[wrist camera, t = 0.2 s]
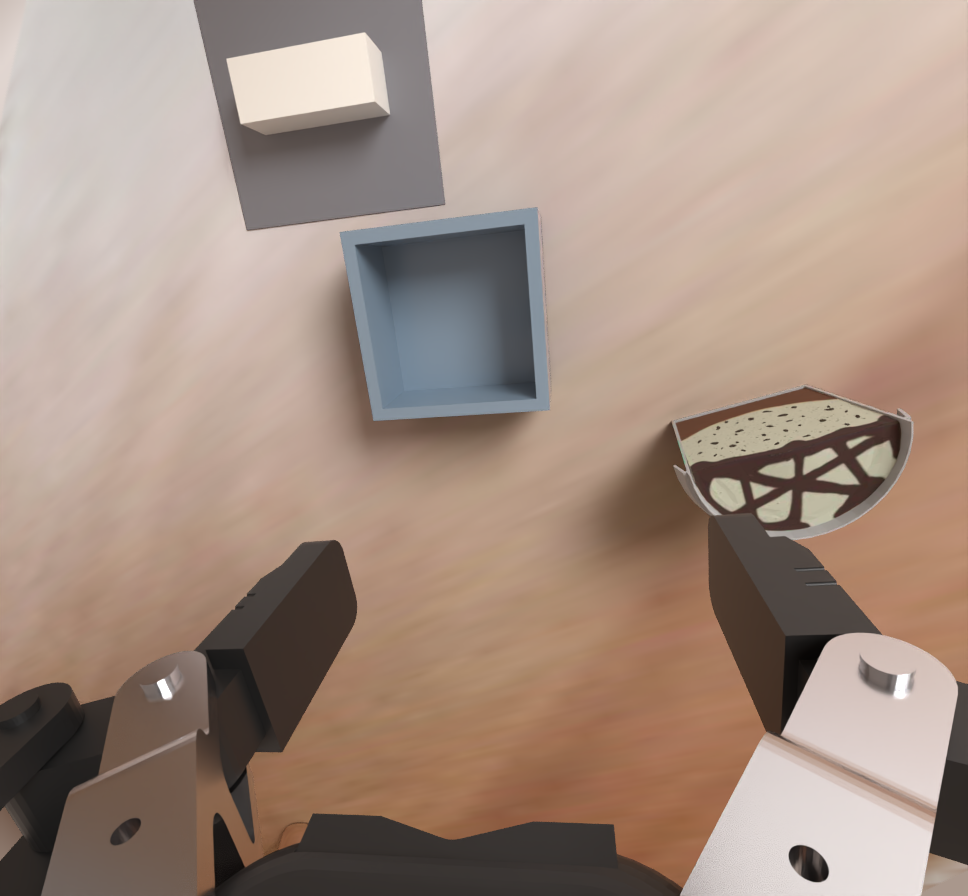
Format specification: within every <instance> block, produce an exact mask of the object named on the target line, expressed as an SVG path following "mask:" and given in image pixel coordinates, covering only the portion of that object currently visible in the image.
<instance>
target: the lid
mask: <svg viewBox="0 0 968 896" xmlns="http://www.w3.org/2000/svg"><path fill="white" fill-rule="evenodd" d="M194 3H195V8H196V12H197V16H198V21H199V25H200V29H201V34H202V38H203V42H204V47H205V51H206V55H207V60H208V64H209V68H210V73H211V77H212V81H213V85H214V90H215V94H216V98H217V103H218V107H219V111H220V116H221V120H222V124H223V129H224V133H225V137H226V142H227V146H228V150H229V155H230V159H231V163H232V167H233V172H234V176H235V180H236V185H237V189H238V193H239V198H240V202H241V206H242V211H243V215H244V219H245V224H246V228H247V230H252V229H260V228H268V227H275V226H283V225H290V224H298V223H306V222H313V221H321V220H329V219H336V218H344V217H352V216H359V215H367V214H374V213H382V212H390V211H397V210H405V209H413V208H420V207H428V206H436V205H443V204H445V198H444V189H443V181H442V172H441V163H440V155H439V146H438V137H437V129H436V120H435V111H434V102H433V94H432V85H431V76H430V68H429V59H428V50H427V42H426V33H425V24H424V15H423V7H422V0H194Z"/></svg>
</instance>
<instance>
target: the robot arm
mask: <svg viewBox="0 0 968 896" xmlns="http://www.w3.org/2000/svg"><path fill="white" fill-rule="evenodd" d="M708 549H709V590H710V597H711V602H712V606H713V610H714V613H715V615H716V618H717V620H718V622H719V624H720V627H721V629H722V631H723V634H724V636H725V638H726V640H727V643H728V645H729V647H730V650H731V652H732V654H733V657H734V659H735V661H736V663H737V666H738V668H739V670H740V673H741V675H742V677H743V679H744V682H745V684H746V686H747V689H748V691H749V693H750V695H751V698H752V700H753V702H754V705H755V707H756V709H757V711H758V714H759V716H760V718H761V721H762V723H763V725H764V727H765V730H766V732H767V733H766V734H765V735H764V736H763V738H762V739H761V741H760V743H759V744H758V746H757V748H756V750H755V752H754V754H753V756H752V758H751V760H750V762H749V763H748V765H747V767H746V769H745V771H744V773H743V775H742V777H741V779H740V781H739V783H738V785H737V786H736V788H735V790H734V792H733V794H732V796H731V798H730V800H729V802H728V804H727V806H726V808H725V809H724V811H723V813H722V815H721V817H720V819H719V821H718V823H717V825H716V827H715V829H714V831H713V832H712V834H711V836H710V838H709V840H708V842H707V844H706V846H705V848H704V850H703V852H702V854H701V855H700V857H699V859H698V861H697V863H696V865H695V867H694V869H693V871H692V873H691V875H690V877H689V878H688V880H687V882H686V884H685V886H684V888H682V887H680V886H679V885H678V884H676V883H675V882H673V881H672V880H670V879H668V878H667V877H665V876H664V875H662V874H660V873H659V872H657V871H656V870H653V869H651V868H649V867H647V866H645V865H643V864H641V863H639V862H637V861H635V860H632V859H629V858H626V857H624V856H621V855H618V854H617V853H616V843H615V833H614V825H611V824H584V823H557V822H530V823H526V824H521V825H517V826H513V827H509V828H504V829H500V830H496V831H492V832H487V833H483V834H479V835H475V836H471V837H466V838H462V839H457V840H448V839H444V838H441V837H438V836H435V835H432V834H430V833H427V832H424V831H421V830H418V829H416V828H413V827H410V826H407V825H404V824H402V823H399V822H396V821H393V820H390V819H388V818H385V817H382V816H365V815H338V814H312V817H311V819H310V821H309V823H308V826H307V828H306V830H305V832H304V835H303V837H302V839H301V841H300V843H296V844H293V845H290V846H288V847H285V848H282V849H280V850H277V851H275V852H273V853H271V854H269V855H267V856H265V857H264V854H263V846H262V838H261V831H260V823H259V816H258V808H257V800H256V793H255V785H254V777H253V773H252V770H251V768H250V766H249V761H250V760H251V758H252V756H253V755H254V753H255V752H283V750H284V748H285V746H286V745H287V743H288V741H289V739H290V737H291V736H292V734H293V732H294V730H295V729H296V727H297V725H298V723H299V721H300V720H301V718H302V716H303V714H304V713H305V711H306V709H307V707H308V705H309V704H310V702H311V700H312V698H313V697H314V695H315V693H316V691H317V689H318V688H319V686H320V684H321V682H322V681H323V679H324V677H325V675H326V673H327V672H328V670H329V668H330V666H331V665H332V663H333V661H334V659H335V657H336V656H337V654H338V652H339V650H340V649H341V647H342V645H343V643H344V641H345V640H346V638H347V636H348V634H349V633H350V631H351V629H352V627H353V625H354V623H355V619H356V614H357V601H356V595H355V592H354V588H353V585H352V581H351V577H350V574H349V570H348V566H347V563H346V559H345V556H344V552H343V549H342V547H341V545H340V543H339V542H338V541H336V540H330V541H316V542H304V543H302V544H301V545H300V546H299V547H298V548H297V549H296V550H295V551H294V552H293V553H292V555H291V556H290V557H289V558H288V559H287V560H286V561H285V562H284V563H283V564H282V565H281V566H279V567H278V568H276V569H275V570H273V571H272V572H270V573H269V574H267V575H266V576H264V577H263V578H261V579H260V581H259V582H258V583H257V584H256V585H255V586H254V587H253V588H252V589H251V590H250V591H249V592H248V593H247V597H244V598H243V599H242V600H241V601H240V602H239V603H238V604H237V605H236V606H235V610H231V612H230V613H229V614H228V615H227V616H226V617H225V618H224V619H223V620H222V621H221V622H220V623H219V624H218V625H217V627H216V628H215V629H214V630H213V631H212V632H211V633H210V634H209V635H208V636H207V637H206V638H205V639H204V640H203V642H202V643H201V644H200V645H199V646H198V647H197V648H196V649H195V650H194V651H183V652H178V653H174V654H171V655H168V656H165V657H163V658H160V659H158V660H156V661H154V662H152V663H150V664H148V665H147V666H145V667H144V668H142V669H140V670H139V671H138V672H136V673H135V674H134V675H133V676H131V677H130V678H129V679H128V680H127V681H126V682H125V683H124V684H123V685H122V686H121V688H120V689H119V690H118V692H117V694H116V695H115V696H113V697H109V698H105V699H101V700H97V701H94V702H90V703H86V704H82V705H80V703H79V701H78V700H77V698H76V696H75V694H74V692H73V690H72V688H71V687H70V685H68V684H66V683H51V684H46V685H42V686H39V687H36V688H33V689H31V690H28V691H26V692H24V693H22V694H20V695H17V696H16V697H14V698H12V699H10V700H8V701H7V702H5V703H3V704H2V705H0V810H1V809H2V808H3V807H4V806H5V808H6V809H7V811H8V813H9V814H10V815H11V817H12V819H13V820H14V822H15V823H16V825H17V826H18V828H19V830H20V831H21V833H22V834H23V836H22V837H21V838H20V839H19V840H18V842H17V843H16V844H15V845H14V846H13V847H12V848H11V850H10V851H9V852H8V853H7V854H6V855H5V856H4V857H3V859H2V860H1V861H0V896H921V893H922V887H923V882H924V876H925V871H926V866H927V860H928V855H929V853H932V854H935V855H938V856H941V857H945V858H948V859H951V860H954V861H957V862H960V863H963V864H967V865H968V684H965V683H961V682H958V681H956V680H955V678H954V677H953V675H952V674H951V672H950V671H949V670H948V669H947V668H946V667H945V666H944V665H943V664H942V663H941V662H940V661H939V660H937V659H936V658H935V657H933V656H932V655H930V654H929V653H927V652H925V651H924V650H922V649H920V648H918V647H916V646H914V645H912V644H909V643H907V642H904V641H901V640H899V639H896V638H892V637H888V636H884V635H882V634H881V633H880V632H879V630H878V629H877V628H876V627H875V626H874V625H873V623H872V622H871V621H870V620H869V619H868V618H867V616H866V615H865V614H864V613H863V612H862V611H861V609H860V608H859V607H858V606H857V605H856V604H855V602H854V601H853V600H852V599H851V598H850V597H849V595H848V594H847V593H846V592H845V591H844V590H843V588H842V587H841V586H840V585H837V583H836V580H835V579H834V578H833V577H832V576H831V574H830V573H829V572H828V571H827V570H824V566H823V565H822V564H821V563H820V562H819V561H818V559H817V558H816V557H815V556H814V555H813V554H812V552H811V551H810V550H809V549H807V548H805V547H804V546H802V545H800V544H798V543H796V542H795V541H793V540H791V539H789V538H788V537H786V536H777V537H770V536H769V535H768V533H767V532H766V531H765V529H764V528H763V527H762V526H761V524H760V523H759V522H758V520H757V519H756V518H755V516H754V515H753V514H752V513H742V514H727V515H713V516H710V518H709V524H708Z"/></svg>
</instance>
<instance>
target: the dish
mask: <svg viewBox="0 0 968 896" xmlns="http://www.w3.org/2000/svg"><path fill="white" fill-rule="evenodd" d="M340 237H341V242H342V248H343V254H344V259H345V265H346V270H347V276H348V282H349V287H350V293H351V298H352V304H353V309H354V315H355V321H356V326H357V332H358V337H359V343H360V348H361V354H362V360H363V365H364V371H365V376H366V382H367V387H368V393H369V399H370V404H371V410H372V415H373V421H381V420H397V419H414V418H430V417H446V416H463V415H479V414H496V413H512V412H528V411H545V410H550V399H551V377H550V360H549V344H548V327H547V310H546V293H545V277H544V260H543V243H542V226H541V215H540V213H539V210H538V208H537V207H535V208H528V209H520V210H512V211H504V212H496V213H488V214H480V215H472V216H464V217H456V218H448V219H440V220H432V221H424V222H417V223H409V224H401V225H393V226H385V227H377V228H369V229H361V230H353V231H345V232H340Z"/></svg>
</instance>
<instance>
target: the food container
mask: <svg viewBox="0 0 968 896" xmlns="http://www.w3.org/2000/svg"><path fill="white" fill-rule="evenodd" d="M671 422H672V425H673V428H674V431H675V434H676V438H677V441H678V444H679V447H680V451H681V454H682V457H683V460H684V464H685V467H686V470H687V471H683V470H682V469H681V468H679V467H678V466H677V465H673V467H674V470H675V473H676V475H677V478H678V480H679V482H680V484H681V485H682V487H683V489H684V491H685V492H686V493H687V495H688V496H689V497H690V498H691V499H692V501H693V502H694V503H695V504H696V505H698V506H699V507H700V508H701V509H702V510H703V511H704V512H706V513H707V514H708V515H710V516H713V515H727V514H742V513H752V514H753V515H754V516H755V518H756V519H757V520H758V522H759V523H760V524H761V526H762V527H763V528H764V529H765V531H766V532H767V533H768V535H769V536H770V537H777V536H786V537H788V538H789V539H791V540H798V539H805V538H812V537H815V536H819V535H823V534H826V533H829V532H832V531H834V530H837V529H839V528H842V527H844V526H846V525H848V524H849V523H851V522H853V521H855V520H857V519H858V518H860V517H861V516H863V515H864V514H865V513H867V512H868V511H869V510H871V509H872V508H873V507H874V506H875V505H877V504H878V503H879V502H880V501H881V500H882V499H883V498H884V497H885V496H886V495H887V493H888V492H889V491H890V490H891V488H892V487H893V486H894V484H895V483H896V482H897V480H898V478H899V476H900V475H901V473H902V471H903V469H904V468H905V465H906V462H907V460H908V457H909V454H910V451H911V446H912V440H913V421H911V416H909V415H908V414H907V413H906V412H904V411H903V410H902V409H901V408H900V409H897V415H895V414H892V413H889V412H886V411H883V410H880V409H878V408H875V407H872V406H869V405H866V404H863V403H860V402H857V401H854V400H851V399H848V398H845V397H842V396H839V395H836V394H833V393H830V392H827V391H825V390H822V389H819V388H816V387H813V386H810V385H807V384H806V385H802V386H799V387H795V388H791V389H788V390H784V391H780V392H777V393H773V394H769V395H766V396H762V397H758V398H755V399H751V400H747V401H744V402H740V403H736V404H732V405H729V406H725V407H721V408H718V409H714V410H710V411H707V412H703V413H699V414H696V415H692V416H688V417H685V418H681V419H677V420H673V421H671Z"/></svg>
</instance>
